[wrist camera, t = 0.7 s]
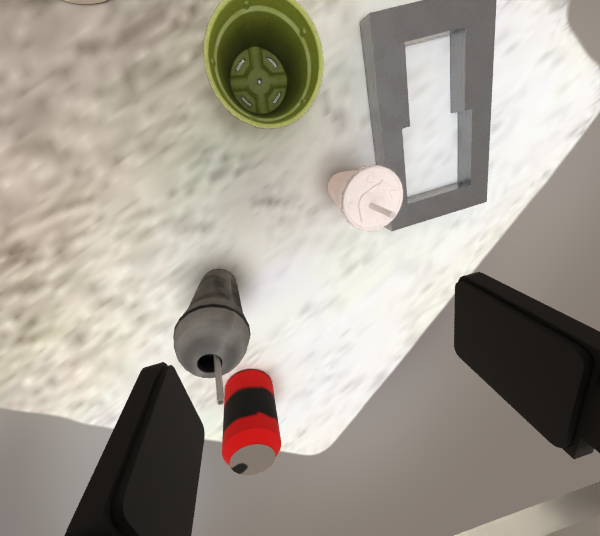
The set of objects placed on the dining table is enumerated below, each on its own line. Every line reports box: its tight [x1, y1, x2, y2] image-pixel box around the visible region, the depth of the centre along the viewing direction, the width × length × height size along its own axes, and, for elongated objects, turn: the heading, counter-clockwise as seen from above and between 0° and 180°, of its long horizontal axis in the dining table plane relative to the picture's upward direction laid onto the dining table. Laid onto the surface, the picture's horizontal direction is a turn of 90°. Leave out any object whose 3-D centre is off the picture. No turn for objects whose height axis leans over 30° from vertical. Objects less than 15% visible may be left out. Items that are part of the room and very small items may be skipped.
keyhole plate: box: [360, 0, 496, 231], centre depth 35 cm, size 23×14×2 cm, turn 14°
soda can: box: [222, 370, 281, 475], centre depth 41 cm, size 8×8×12 cm
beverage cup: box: [174, 269, 250, 405], centre depth 30 cm, size 7×7×20 cm
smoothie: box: [327, 165, 403, 231], centre depth 30 cm, size 6×6×14 cm
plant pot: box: [204, 0, 323, 129], centre depth 27 cm, size 9×9×9 cm
